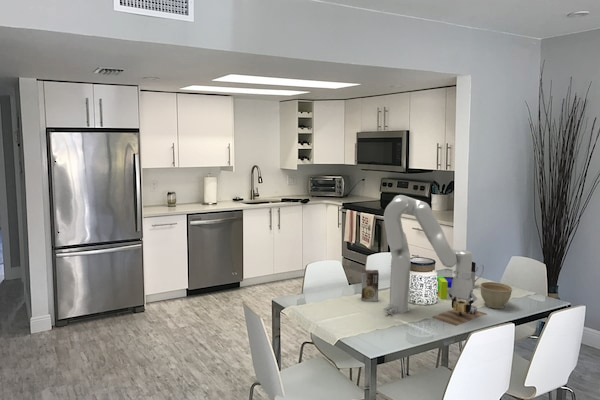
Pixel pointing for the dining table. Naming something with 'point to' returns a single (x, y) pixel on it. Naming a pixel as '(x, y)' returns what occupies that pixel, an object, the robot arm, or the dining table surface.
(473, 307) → the steel gear
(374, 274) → the coffee box
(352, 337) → the dining table surface
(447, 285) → the puzzle toy
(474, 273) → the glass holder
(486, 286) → the planter bowl
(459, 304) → the brass gear
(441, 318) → the gear board
